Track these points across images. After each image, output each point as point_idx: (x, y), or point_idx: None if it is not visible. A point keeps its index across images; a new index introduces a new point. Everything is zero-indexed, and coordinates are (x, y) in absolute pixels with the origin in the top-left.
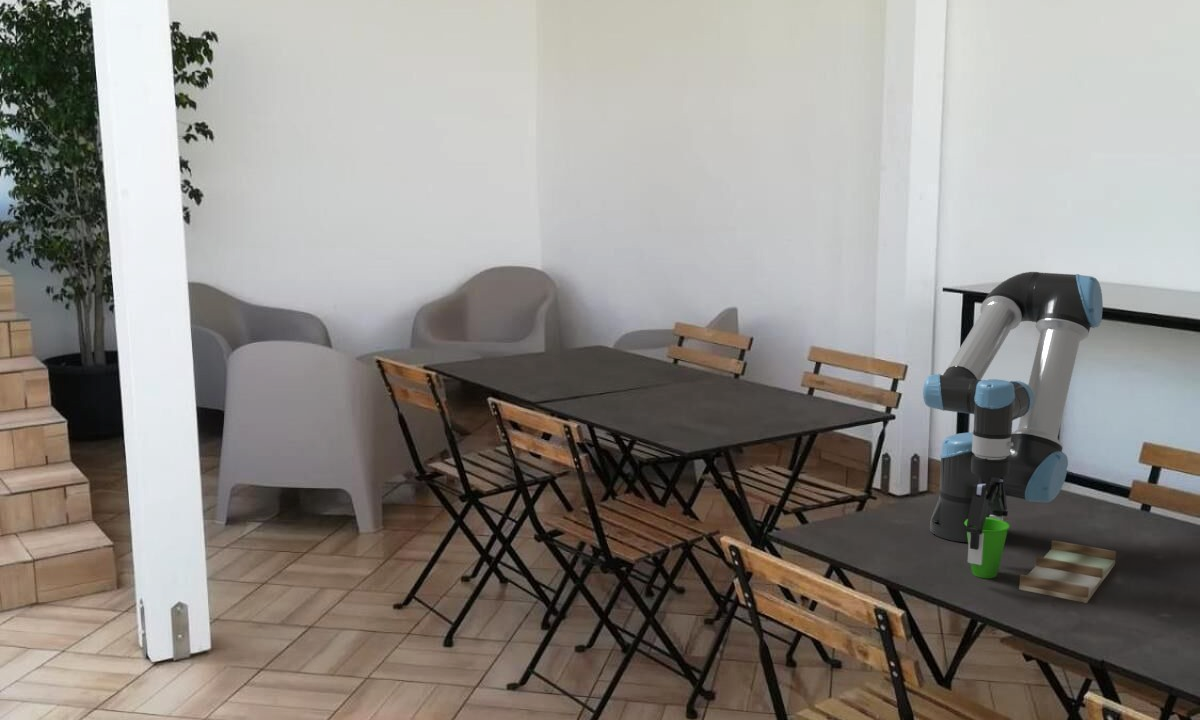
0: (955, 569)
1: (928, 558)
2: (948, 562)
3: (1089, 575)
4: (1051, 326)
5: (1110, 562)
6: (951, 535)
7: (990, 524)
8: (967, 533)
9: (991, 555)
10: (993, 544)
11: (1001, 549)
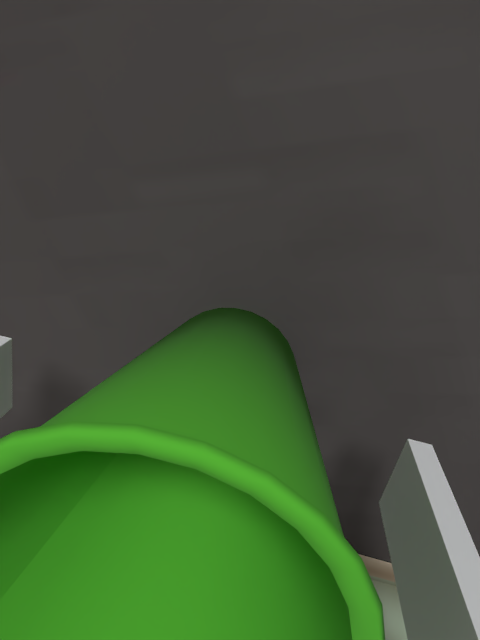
0: (248, 220)
1: (408, 15)
2: (360, 167)
3: None
4: None
5: None
6: None
7: (335, 609)
8: (109, 394)
9: (117, 467)
10: (69, 535)
11: (157, 538)
